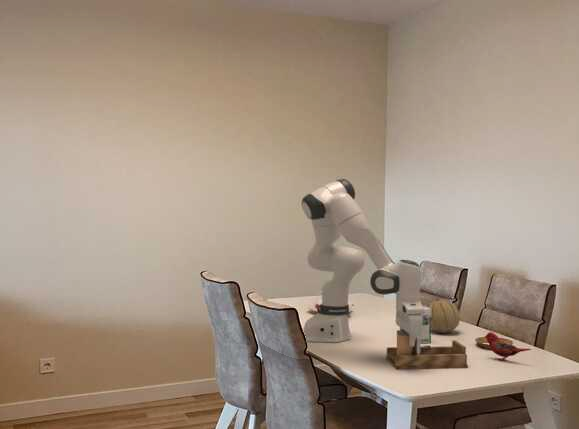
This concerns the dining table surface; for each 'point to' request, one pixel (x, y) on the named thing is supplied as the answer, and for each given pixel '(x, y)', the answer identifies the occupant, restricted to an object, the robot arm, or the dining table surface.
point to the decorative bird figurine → (502, 347)
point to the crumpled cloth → (319, 301)
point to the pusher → (419, 347)
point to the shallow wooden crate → (430, 358)
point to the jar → (403, 343)
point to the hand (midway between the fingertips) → (407, 342)
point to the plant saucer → (484, 340)
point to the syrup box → (426, 326)
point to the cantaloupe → (444, 316)
